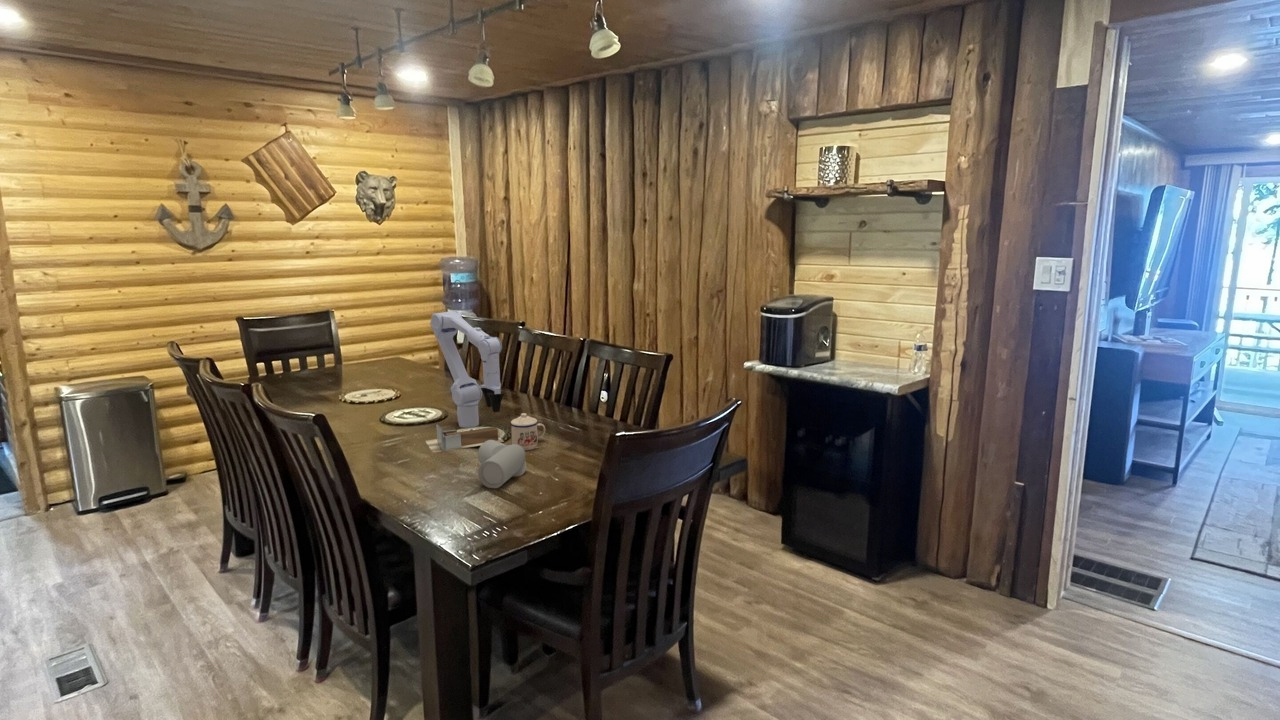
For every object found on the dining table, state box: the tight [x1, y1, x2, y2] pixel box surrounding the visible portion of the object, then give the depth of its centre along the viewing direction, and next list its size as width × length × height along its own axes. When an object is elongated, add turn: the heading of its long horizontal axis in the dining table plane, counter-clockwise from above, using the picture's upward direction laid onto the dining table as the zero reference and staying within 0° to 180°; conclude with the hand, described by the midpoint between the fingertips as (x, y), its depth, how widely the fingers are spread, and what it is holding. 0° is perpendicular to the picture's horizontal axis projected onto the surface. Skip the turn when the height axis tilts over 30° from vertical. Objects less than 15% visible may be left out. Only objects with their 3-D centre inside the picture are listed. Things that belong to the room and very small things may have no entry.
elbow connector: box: [477, 440, 527, 489], centre depth 209 cm, size 18×10×20 cm
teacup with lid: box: [510, 412, 546, 451], centre depth 236 cm, size 12×9×12 cm
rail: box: [446, 426, 499, 446], centre depth 237 cm, size 4×17×4 cm, turn 117°
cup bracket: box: [435, 424, 462, 452], centre depth 234 cm, size 8×6×7 cm
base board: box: [424, 435, 505, 454], centre depth 240 cm, size 14×24×1 cm, turn 117°
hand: (493, 409), depth 248 cm, fingers open, 7 cm apart
